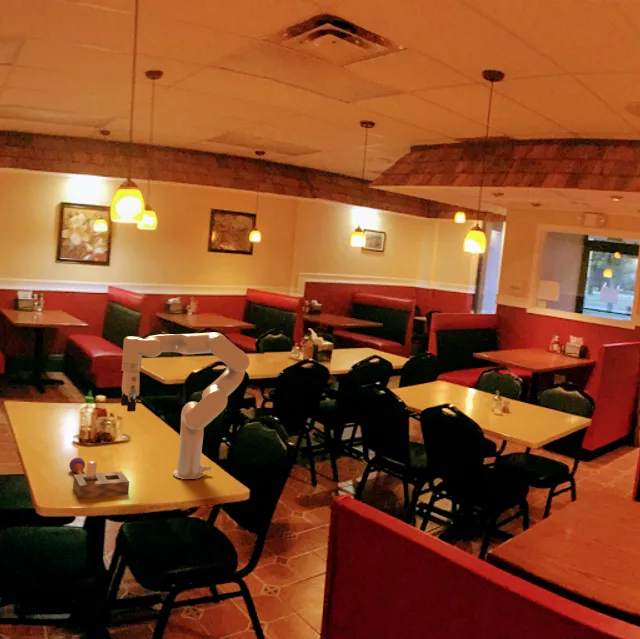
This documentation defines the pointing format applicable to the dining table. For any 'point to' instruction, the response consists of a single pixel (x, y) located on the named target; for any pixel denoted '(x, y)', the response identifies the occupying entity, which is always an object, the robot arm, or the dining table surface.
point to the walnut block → (101, 485)
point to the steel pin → (91, 471)
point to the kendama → (77, 465)
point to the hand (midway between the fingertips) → (128, 408)
